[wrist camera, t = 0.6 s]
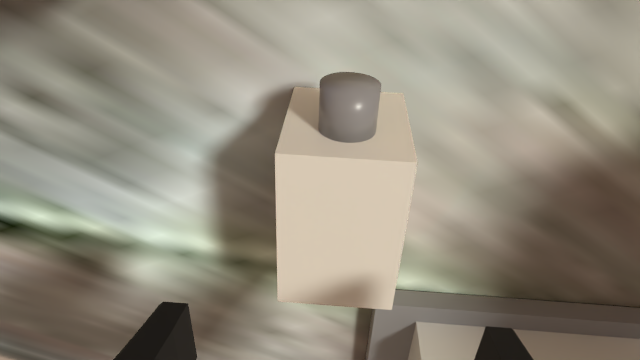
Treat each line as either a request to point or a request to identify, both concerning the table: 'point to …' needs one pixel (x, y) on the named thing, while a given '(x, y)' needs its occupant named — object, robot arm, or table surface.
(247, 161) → the table surface
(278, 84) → the table surface
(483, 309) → the stepped base plate
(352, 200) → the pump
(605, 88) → the table surface
